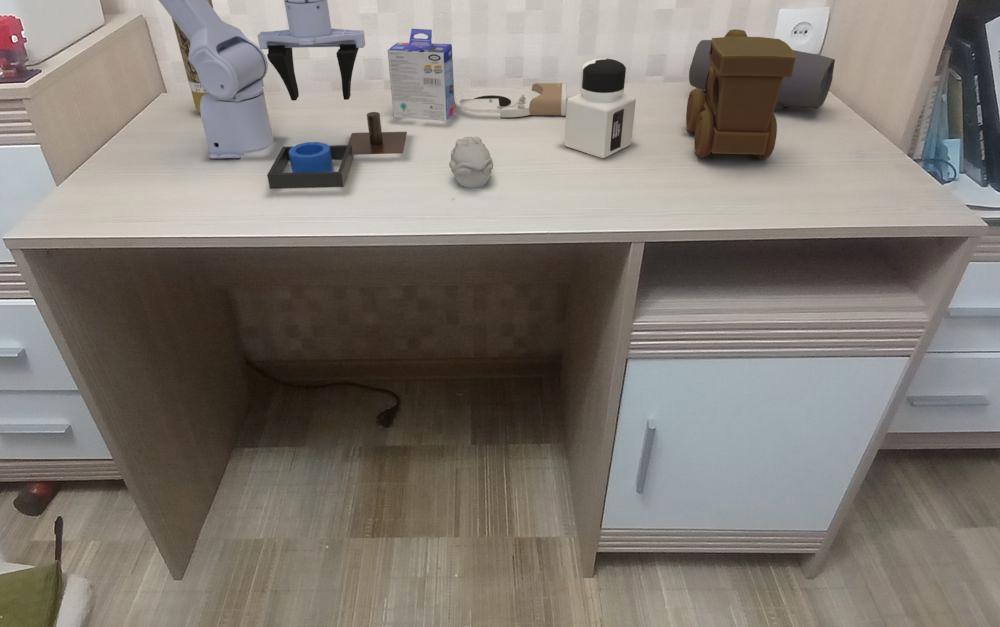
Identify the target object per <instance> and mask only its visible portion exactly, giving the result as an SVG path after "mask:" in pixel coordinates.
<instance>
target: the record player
mask: <svg viewBox="0 0 1000 627" xmlns="http://www.w3.org/2000/svg"><path fill="white" fill-rule="evenodd" d="M493 99H495V100H496V99H497V100H498V106H497V107H496V108H497V109H484V108H483V109H482V108H480V109H479V108H470V107H465V106H463V105H462V104H461V100H488V102H489V103H492V102H493ZM454 102H455V107H457V108H458V109H461V110H463V111H466V112H472V113H482V114H484V113H486V114H499V116H500V118H522V117H527V116H565V117H566V105H567V83H562V82H561V83H560V82H559V83H557V82H553V83H552V82H550V83H549V82H535V83H533V84H532V86H531V89H528V88H517V87H484V88H483V87H481V88H474V89H473V88H472V89H468V90H465V91H462V92H460V93H458V94H457V95H456V96H454Z"/></svg>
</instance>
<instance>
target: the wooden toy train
mask: <svg viewBox="0 0 1000 627" xmlns="http://www.w3.org/2000/svg"><path fill="white" fill-rule="evenodd" d="M711 40H712V41H711V47H710V54H709V62H710V64H711V66H712V67H709V70H708V73H707V76H706V82H705V90H703V89H699V88H696V87H694V88H693V89H692V90H691V91H690V92H689V95H688V99H687V104H686V113H685V125H686V129H687V131H688V132H690V133H692V134H693V133H694V152H695V154H696V155H697V157H699V158H701V159H703V158H706V157H708V156H709V155H710V153H711V154H729V155H732V154H733V155H754V156H755V157H756V158H757V159H759V160H765V159H768V158H769V157H770V156H771V155H772V154H773V151H774V149H775V145H776V142H777V135H778V123H777V121H778V120H777V118H776V116H775V114H774V112H775V110H774V109H775V106H776V103H777V100H778V96H779V93H780V88H781V84H782V79H783V77H791V76H792V72H793V67H794V63H795V59H796V57H795V53H794V51H793V50H794V49H792V48H791V46H790V45H789V44H788V43H787V42H786V41H783V40H782V39H780V38H773V37H764V36H763V37H762V36H748V34H747V32H746V31H745V30H744V29H730V30H728V32H726V34H725V35H724V36H720V37H711Z"/></svg>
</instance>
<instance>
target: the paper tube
mask: <svg viewBox="0 0 1000 627" xmlns="http://www.w3.org/2000/svg"><path fill="white" fill-rule="evenodd" d="M207 1H208V3H209V4H210V5H211V7H212V8H213V9H214V5H213V0H207ZM171 20H172V24H173V28H174V31H175V35H176V40H177V44H178V47H179V51H180V55H181V58H182V62H183V66H184V70H185V74H186V77H187V81H188V85H189V88H190V92H191V96H192V99H193V103H194V108H195V109H196V111H197V113H199V114H200V101H201V98H202V96H203V95H205V94H209V93H208V92H207V91H206V90H205V89H204V88H203V86H202V84H201V83H200V80H199V77H198V74H197V72H196V70H195V68H194V66H193V65H192V64H191V62H190V61H189V59H188V56H189V50H190V40H189V39H188V38H187V37H186V35H185V34H184V33H183V31H182V30H181V29H180V27H179V26H178V25H177V24H176V22H175V21H174V20H173V18H172V17H171ZM217 52H219V51H217Z"/></svg>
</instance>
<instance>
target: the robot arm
mask: <svg viewBox="0 0 1000 627" xmlns="http://www.w3.org/2000/svg"><path fill="white" fill-rule="evenodd" d="M158 2H159V3H160V4H161V5H162V7H163V9H165V10H166V12H167V13H168V15H169V16H170V17H171V19H172V18H173V20H174V21H175V22H176V24H177V25H178V26H179V27H180V29H181V30H182V31H183V33H184V34H185V35H186V37H187V38H188V39H189V40H190V50H189V56H188V59H189V61H190V62H191V64H192V65H193V66H194V68H195V70H196V72H197V74H198V77H199V80H200V83H201V84H202V86H203V88H204V89H205V90H206V91H207V92H208V93H209V94H205V95H203V96H202V98H201V101H200V113H199V114H200V119H201V123H202V127H203V131H204V134H205V139H206V142H207V146H208V150H209V155H208V157H209V159H212V160H214V159H215V160H216V159H241V158H242V157H243V156H244V154H245V153H253V152H258V151H263V150H265V149H267V148H270V147H271V146H272V145H273V144H274V142H275V140H274V136H273V131H272V125H271V121H270V116H269V111H268V105H267V100H266V96H265V92H264V87H265V85H264V79H265V77H266V76H267V74H268V70H269V64H268V61H269V63H270V64H271V65H272V66H273V67H274V69H275V70H276V72H277V73H278V75H279V77H280V78H281V80H282V82H283V84H284V86H285V88H286V90H287V92H288V95H289V97H290V100H291V101H292V102H293V101H297V100H298V98H299V97H300V95H299V93H300V92H299V86H298V81H297V78H296V73H295V64H294V55H293V48H294V49H295V48H297V49H298V48H338V49H337V51H336V53H335V54H336V58H337V63H338V67H339V72H340V79H341V89H342V90H341V91H342V98H343V101H344V100H345V101H346V100H347V101H348V100H350V98H351V91H352V90H351V88H352V87H351V85H352V76H353V72H354V67H355V62H356V59H357V56H358V52H359V49H364V48H365V46H366V39H365V31H364V30H363V29H362V30H360V29H359V30H358V29H357V30H356V29H343V28H332V23H331V16H330V8H329V3H328V0H284V6H285V13H286V17H287V24H288V29H283V30H282V29H281V30H272V31H271V30H270V31H269V30H268V31H260V32H259V33H258V34H257V35H256V36H257V41H258V44H256V43H254V42H253V41H252V40H250V39H248V37H246V35H245V34H244V32H242V30H241V29H240V28H238V27H236V26H234V25H232V24H229V23H227V22H225V21H224V20H222V18H221V17H220V16H219V15H218V13H217V12H216V10H215V9H214V7H213V8H212V7H211V5H210V4H209V3H208V1H207V0H158ZM263 50H267V52H268V53H267V54H266V55H265V53H264V51H263ZM217 51H219V52H217Z"/></svg>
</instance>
